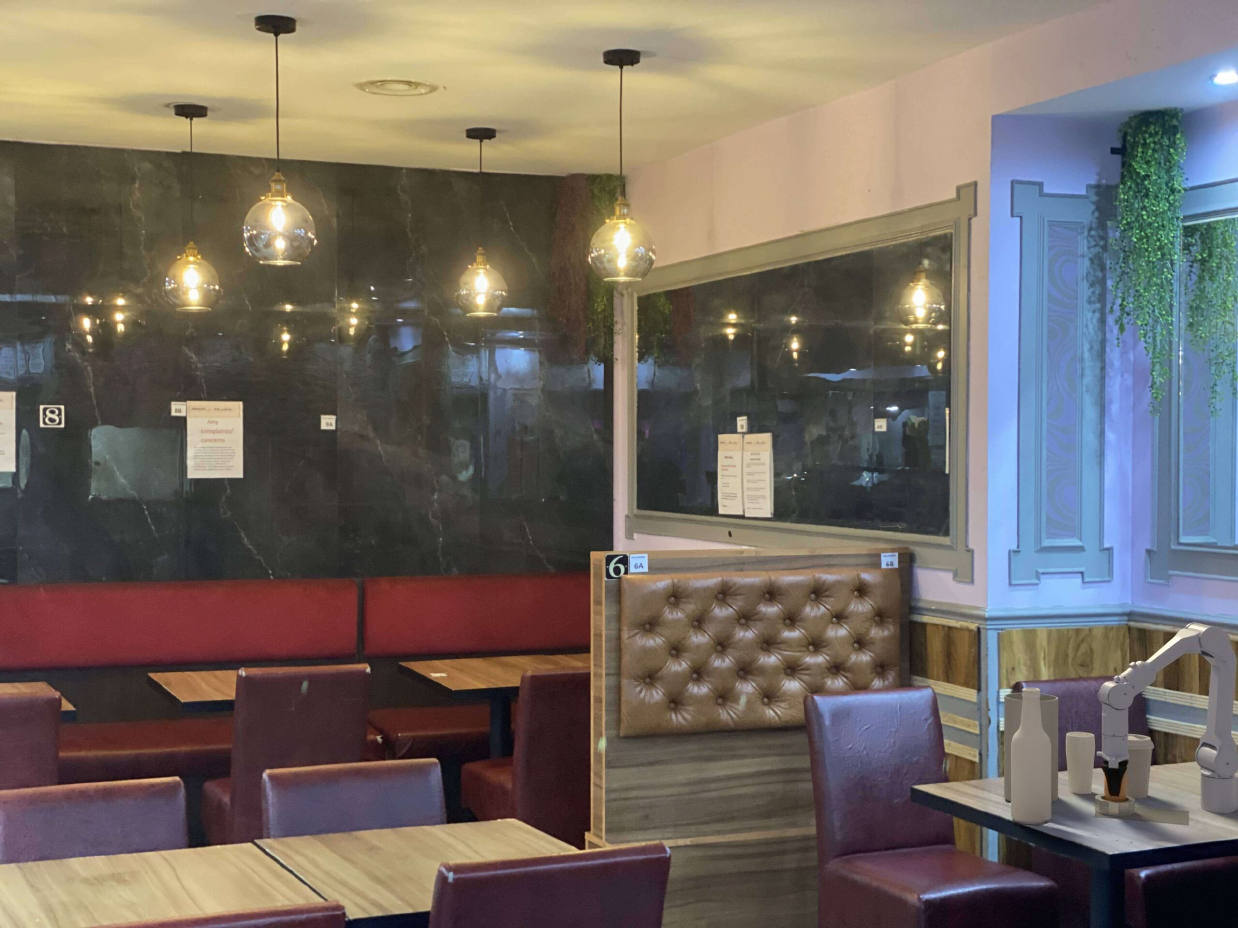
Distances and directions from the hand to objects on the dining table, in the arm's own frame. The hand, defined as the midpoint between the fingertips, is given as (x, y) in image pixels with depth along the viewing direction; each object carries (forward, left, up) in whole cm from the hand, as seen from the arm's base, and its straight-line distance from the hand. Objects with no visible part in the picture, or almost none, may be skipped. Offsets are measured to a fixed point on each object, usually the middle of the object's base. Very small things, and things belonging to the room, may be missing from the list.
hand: (1114, 793), depth 331 cm
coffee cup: (-18, -7, -5) cm, 20 cm away
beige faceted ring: (0, 0, -4) cm, 4 cm away
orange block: (0, 0, -2) cm, 2 cm away
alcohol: (+19, -9, -5) cm, 22 cm away
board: (-3, +5, -5) cm, 8 cm away
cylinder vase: (+3, -21, -5) cm, 22 cm away
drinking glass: (-11, -17, -5) cm, 21 cm away
